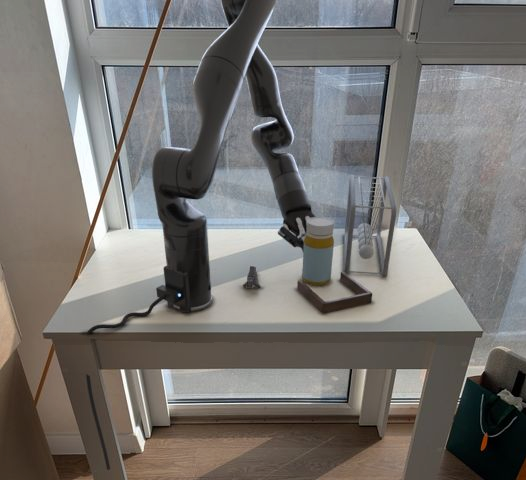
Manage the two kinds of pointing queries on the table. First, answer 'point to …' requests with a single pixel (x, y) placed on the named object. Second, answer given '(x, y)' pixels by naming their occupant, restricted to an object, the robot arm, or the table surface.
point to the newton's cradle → (368, 226)
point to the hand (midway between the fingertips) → (312, 260)
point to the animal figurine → (252, 279)
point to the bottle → (318, 251)
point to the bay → (338, 304)
